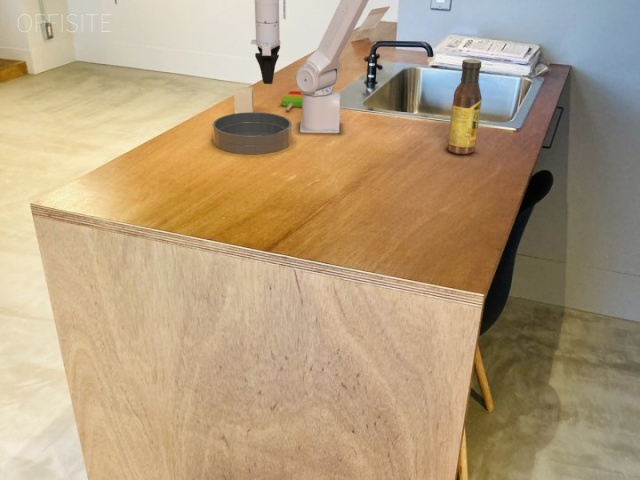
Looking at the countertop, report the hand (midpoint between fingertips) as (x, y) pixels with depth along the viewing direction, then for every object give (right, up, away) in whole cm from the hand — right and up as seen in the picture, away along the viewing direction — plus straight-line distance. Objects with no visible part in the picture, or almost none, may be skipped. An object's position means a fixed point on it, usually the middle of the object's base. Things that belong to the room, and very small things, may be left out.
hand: (268, 79), depth 171 cm
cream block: (-6, -10, +2) cm, 12 cm away
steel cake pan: (-3, -19, -12) cm, 22 cm away
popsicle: (+6, -2, +15) cm, 16 cm away
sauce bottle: (+45, -21, -14) cm, 52 cm away
